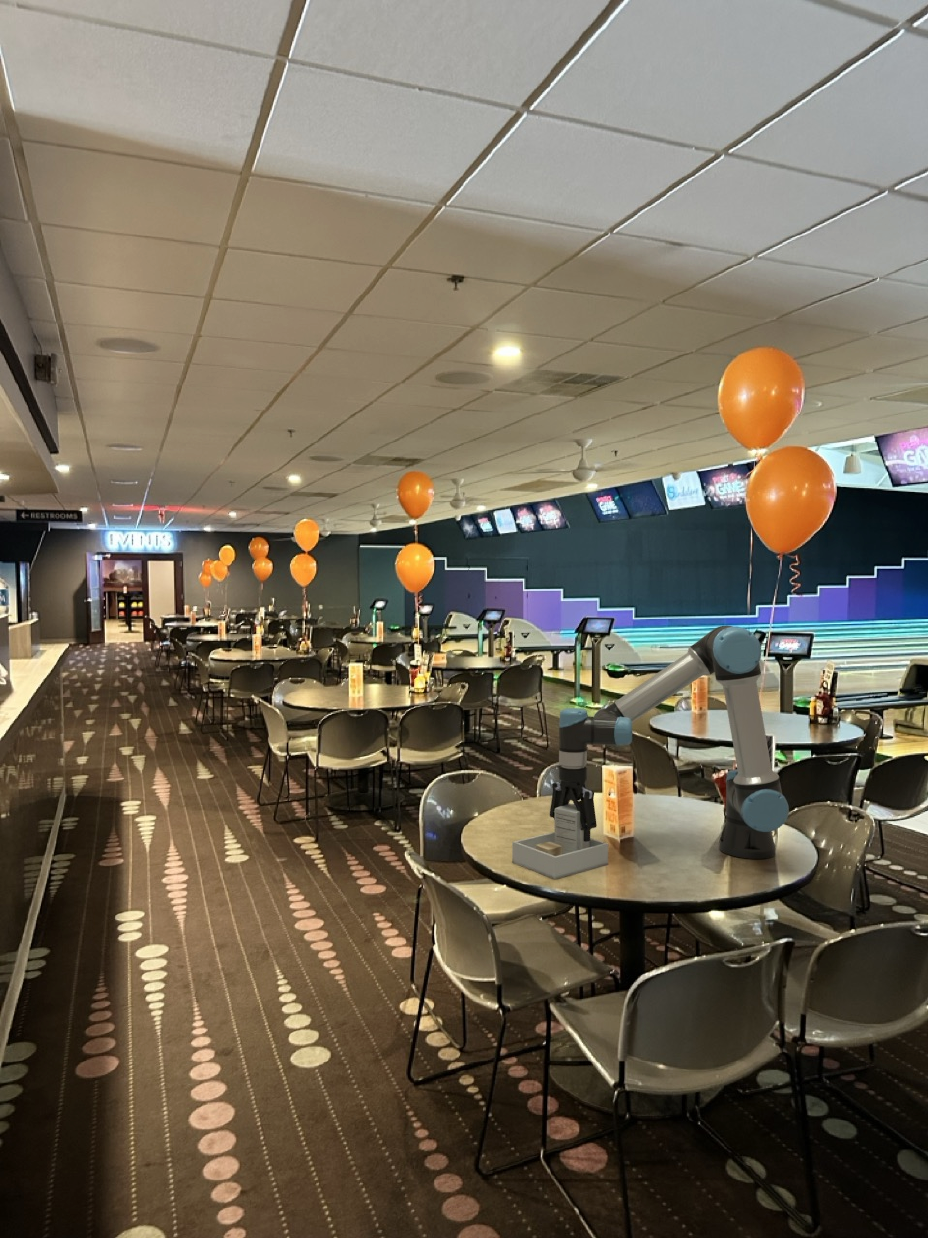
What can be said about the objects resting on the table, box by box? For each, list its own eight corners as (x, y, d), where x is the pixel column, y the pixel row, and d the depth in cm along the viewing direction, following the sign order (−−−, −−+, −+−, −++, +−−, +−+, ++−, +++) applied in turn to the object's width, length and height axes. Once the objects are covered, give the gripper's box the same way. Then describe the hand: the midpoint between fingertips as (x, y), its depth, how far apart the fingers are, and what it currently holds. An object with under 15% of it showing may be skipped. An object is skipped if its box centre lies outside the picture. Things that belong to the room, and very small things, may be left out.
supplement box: (567, 847, 231) (568, 802, 231) (591, 852, 226) (591, 807, 226) (553, 853, 225) (553, 807, 225) (576, 859, 221) (577, 812, 220)
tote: (608, 864, 223) (608, 843, 222) (555, 879, 211) (555, 857, 210) (564, 849, 236) (564, 829, 236) (512, 862, 224) (512, 842, 224)
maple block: (548, 868, 217) (548, 849, 217) (535, 863, 221) (535, 845, 221) (561, 864, 220) (562, 846, 220) (549, 860, 224) (549, 841, 224)
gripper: (611, 770, 219) (610, 855, 220) (555, 758, 236) (555, 837, 236) (591, 774, 214) (590, 861, 215) (536, 761, 231) (536, 841, 232)
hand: (572, 848), depth 226 cm, fingers closed on supplement box, 8 cm apart
